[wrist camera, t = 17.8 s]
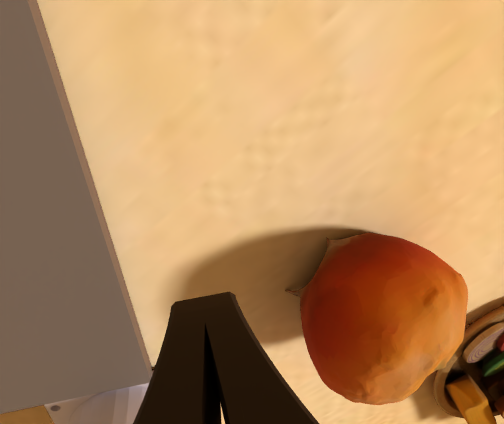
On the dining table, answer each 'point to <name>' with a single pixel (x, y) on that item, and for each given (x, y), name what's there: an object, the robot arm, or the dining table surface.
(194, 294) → the dining table surface
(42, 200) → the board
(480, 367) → the toy sandwich meal
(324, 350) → the fruit
